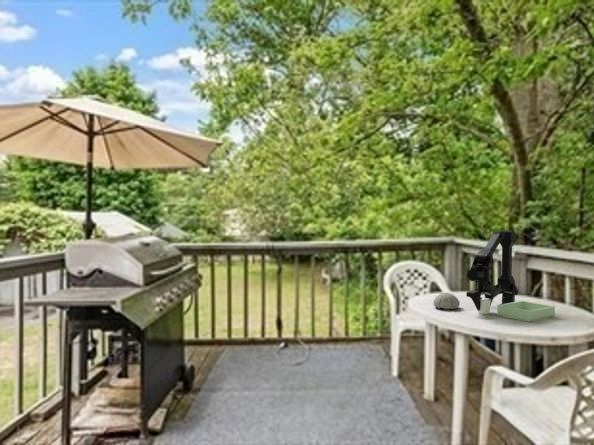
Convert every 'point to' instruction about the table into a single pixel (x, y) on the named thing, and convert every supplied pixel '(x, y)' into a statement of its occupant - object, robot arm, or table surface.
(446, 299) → the sea urchin shell
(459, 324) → the table surface
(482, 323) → the table surface
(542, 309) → the bin
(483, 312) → the shot glass
